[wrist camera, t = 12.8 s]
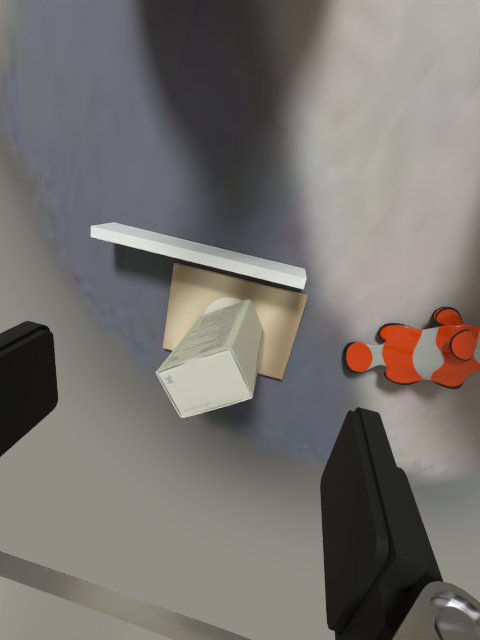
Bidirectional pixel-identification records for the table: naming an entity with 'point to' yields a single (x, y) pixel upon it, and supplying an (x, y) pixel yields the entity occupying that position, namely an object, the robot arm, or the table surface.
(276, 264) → the acrylic wall
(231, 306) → the skincare box
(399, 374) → the fish
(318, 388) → the table surface
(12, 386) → the robot arm
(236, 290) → the cork pad
